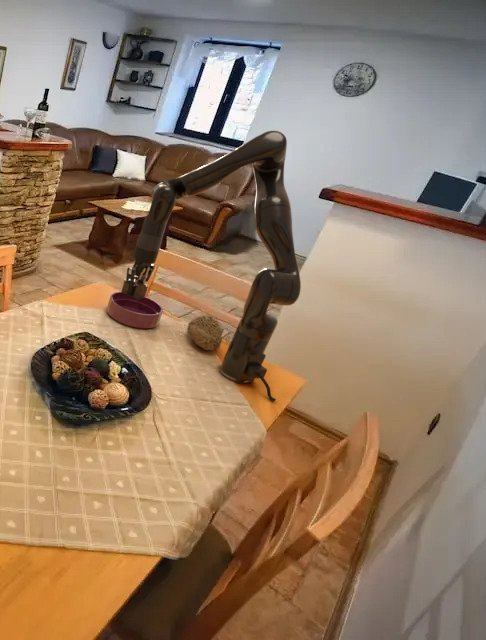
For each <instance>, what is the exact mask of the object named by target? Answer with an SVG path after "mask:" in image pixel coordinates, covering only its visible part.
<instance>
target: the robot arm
mask: <svg viewBox="0 0 486 640" xmlns="http://www.w3.org/2000/svg"><path fill="white" fill-rule="evenodd" d="M287 147H288V141H287V137H286V135H285V134H284V133H282V132H281V131H279V130H267V131H265V132H262V133H260V134H258V135H257V136H255V137H254V138H251V140H248V141H247V142H245V143H243V144H242V145H240V146H239V147H237V148H235V149H234V150H231V151H230V152H229V153H227V154H224V156H222V157H220V158H218V159H216V160H214V161H212V162H210V163H208V164H206V165H203V166H201V167H199V168H197V169H194V170H192V171H190V172H188V173H185V174H184V175H181V176H178V177H175V178H172V179H169V180H165V181H163V182H160V183H158V184H157V185H155V186H154V187H153V189H152V191H151V193H150V197H151V204H150V207H149V211H148V214H146V216H145V218H144V221H143V224H142V228H141V231H140V233H139V236H138V238H137V241H136V244H135V248H134V251H133V254H132V256H133V257H132V258H133V259H134V260H135V262H134V263H133V265H132V267H127V269H126V276H125V277H126V278H125V280H126V283H128V284H129V287H128V291H127V295H129V296H133V294H134V291H135V288H136V284H137V282H140V283H142V284H144V285H146V283H148V282H149V280H150V278H151V276H152V274H153V272H154V270H155V267H156V266H155V265H154V264H155V263H156V261H157V258H158V255H159V253H160V249H161V246H162V243H163V237H164V234H165V231H166V227H167V224H168V221H169V219H170V216H171V214H172V213H173V210H174V207H175V205H176V201H177V200H180V199H183V198H187V197H188V198H191V197H194V196H198V195H199V194H201V193H204V192H206V191H209V190H211V189H212V188H214V187H216V186H218V185H220V184H221V183H223V181H225V180H226V179H227V178H228V177H230V176H231V175H232V174H234V173H236V172H237V171H240V169H242V168H244V167H246V166H248V165H252V169H253V174H254V180H255V187H256V192H255V202H254V222H255V223H254V224H255V231H256V235H257V237H258V238H259V240H260V242H261V244H262V245H263V246H264V248H265V249H266V250H267V252H268V254H269V255H270V257H271V260H272V262H273V265H274V269H271V268H263V269H261V270H260V271H259V272H258V273H257V274H256V275H255V277H254V278H253V280H252V283H251V286H250V289H249V291H248V295H247V296H246V300H245V302H244V305H243V309H242V316H241V317H240V320H239V322H238V325H237V327H236V329H235V332H234V333H233V336H232V338H231V341H230V343H229V346H228V348H227V350H226V353H225V354H224V358H223V360H222V361H221V364H220V366H219V368H218V371H219V372H220V374H222V375H223V376H224V377H225V378H227V379H229V380H231V381H233V382H235V383H236V384H253V383H254V382H255V380H256V379H260V380H261V382H262V384H263V385H264V386H265V388H266V394H267V397H268V399H269V400H270V401H272V402H275V401H276V398H274V397H273V396H272V393H271V388H270V385H269V383H268V382H267V381H266V379H265V376H266V374H267V372H268V369H267V368H266V367H265V366H264V365H263V364H264V361H265V359H266V356H267V355H266V354H265V352H266V350H267V347H268V345H269V343H270V340H271V339H272V337H273V335H274V333H275V330H276V328H277V326H278V319H277V318H276V317H275V315H273V314H271V313H270V312H268V309H269V307H270V305H276V306H287V307H288V306H292V305H294V304H295V303H296V302H297V301H298V299H299V298H300V295H301V289H302V288H301V287H302V284H301V283H302V281H301V276H300V271H299V266H298V261H297V257H296V250H295V242H294V234H293V233H294V232H293V216H292V208H291V202H290V198H289V195H288V193H287V190H286V187H285V163H286V157H287V150H288V149H287ZM129 279H130V280H129ZM134 280H135V282H134Z"/></svg>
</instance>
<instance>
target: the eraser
mask: <svg viewBox="0 0 486 640" xmlns="http://www.w3.org/2000/svg"><path fill="white" fill-rule="evenodd" d="M129 280H130V279H129ZM134 282H135V279H134ZM128 287H129V284H128V283H126V279H124V282H123V285H122V288H121V291H120V292H122V293H124V294H126V295H127V291H128ZM148 287H149V286H148V285H147V284H142V283H140V282H137V284H136V288H135V291H134V294H133V296H131V297H133V298H135V299H137V300H140V299H143V298H144V297H146V294H147V291H148ZM128 296H129V295H128Z"/></svg>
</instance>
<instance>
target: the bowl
mask: <svg viewBox="0 0 486 640" xmlns="http://www.w3.org/2000/svg"><path fill="white" fill-rule="evenodd" d="M163 310H164V308H163V306H162V305H161V304H159V302H158V301H156V300H154V299H152V298H151V297H147V296H145V297H144V298H143V299H140V300H137V299H135V298H133V297H131V296H128V295H126V294H124V293H122V292H121V291H115V292H113V293H111V294H110V296H109V299H108V302H107V307H106V313H107V314H108V315H109V316H110V317H111V318H112V319H113V320H115V321H116V322H117V323H120V324H122V325H124V326H128V327H131V328H134V329H135V328H136V329H152V328H155V327H157V326H158V325H159V323H160V321H161V318H162V315H163V313H164V311H163Z"/></svg>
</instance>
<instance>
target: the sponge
mask: <svg viewBox="0 0 486 640" xmlns="http://www.w3.org/2000/svg"><path fill="white" fill-rule="evenodd" d="M186 330H187V331H186V332H187V334H188V336H189V337H190V338H191V339H192V341H194V343H195V344H196V345H197V346H198V347H200V348H201V349H203V350H206V351H215V350H217V349H218V348H219V347H220V346H221V344H222V340H223V338H222V335H223V333H224V330H225V328H224V326H223V324H222V323H221V322H220V321H219V320H217V319H216V318H214V316H211V315H208V314H205V315H202V316H197V317H195V318H193V319H192V320H191V321H190V322H189V323H188V325H187V329H186Z"/></svg>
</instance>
